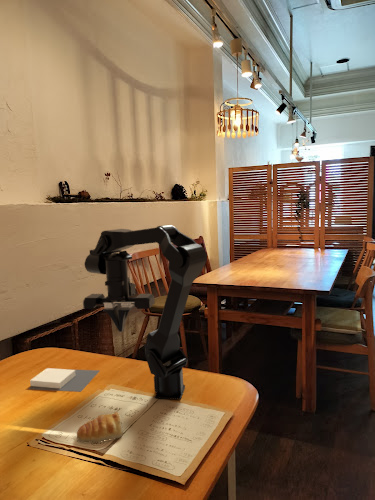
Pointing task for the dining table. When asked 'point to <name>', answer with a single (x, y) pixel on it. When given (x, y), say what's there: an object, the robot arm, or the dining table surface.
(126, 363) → the dining table surface
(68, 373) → the tile
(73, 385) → the mat
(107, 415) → the pastry
